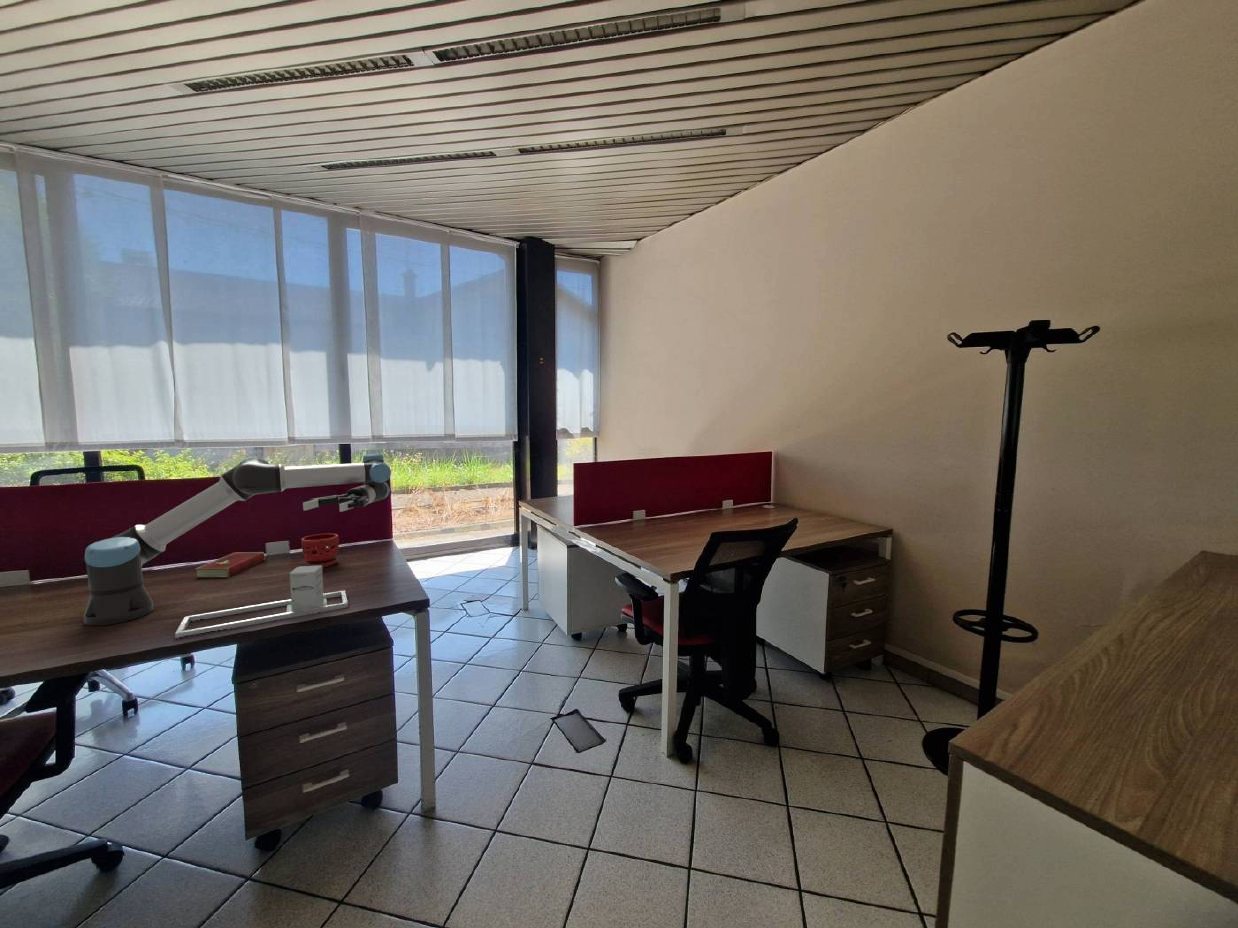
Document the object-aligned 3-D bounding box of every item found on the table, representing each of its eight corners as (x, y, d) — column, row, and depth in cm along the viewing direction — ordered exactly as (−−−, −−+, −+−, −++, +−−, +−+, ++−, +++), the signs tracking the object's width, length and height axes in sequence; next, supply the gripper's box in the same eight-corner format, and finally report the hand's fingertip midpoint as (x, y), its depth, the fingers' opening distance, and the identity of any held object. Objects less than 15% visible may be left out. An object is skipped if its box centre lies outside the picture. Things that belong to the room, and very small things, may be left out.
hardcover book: (265, 561, 207) (264, 551, 207) (228, 578, 186) (227, 567, 186) (235, 561, 206) (234, 551, 206) (195, 578, 185) (194, 567, 185)
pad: (286, 616, 152) (286, 615, 152) (287, 605, 160) (287, 604, 160) (327, 609, 158) (327, 608, 158) (326, 598, 166) (326, 597, 166)
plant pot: (346, 563, 204) (344, 535, 203) (313, 571, 193) (311, 542, 192) (329, 557, 211) (328, 530, 210) (296, 565, 200) (294, 537, 199)
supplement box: (290, 611, 155) (288, 573, 153) (299, 602, 162) (297, 565, 160) (317, 609, 156) (314, 571, 155) (324, 600, 164) (322, 564, 162)
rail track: (175, 638, 137) (174, 633, 137) (185, 621, 148) (184, 616, 148) (347, 607, 160) (347, 602, 159) (345, 594, 171) (345, 590, 170)
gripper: (390, 506, 191) (356, 518, 170) (330, 504, 194) (289, 516, 173) (389, 487, 190) (355, 497, 169) (329, 486, 193) (288, 495, 172)
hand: (322, 507), depth 171 cm, fingers open, 13 cm apart
